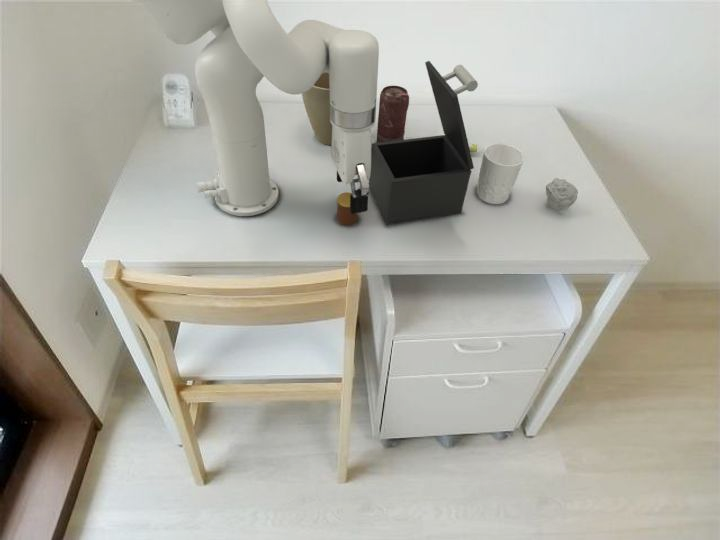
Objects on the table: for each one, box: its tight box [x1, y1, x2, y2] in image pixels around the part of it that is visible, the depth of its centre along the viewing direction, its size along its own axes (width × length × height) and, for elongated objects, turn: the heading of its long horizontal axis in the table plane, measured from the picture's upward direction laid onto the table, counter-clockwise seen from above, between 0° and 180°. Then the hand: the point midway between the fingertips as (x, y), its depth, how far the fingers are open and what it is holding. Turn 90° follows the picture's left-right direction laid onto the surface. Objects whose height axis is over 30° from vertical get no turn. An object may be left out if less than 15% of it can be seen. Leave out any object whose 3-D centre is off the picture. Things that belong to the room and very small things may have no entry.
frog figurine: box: [545, 177, 579, 212], centre depth 105 cm, size 6×7×7 cm
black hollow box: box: [368, 134, 472, 226], centre depth 103 cm, size 16×13×10 cm
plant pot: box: [301, 72, 332, 146], centre depth 116 cm, size 15×15×16 cm
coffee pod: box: [336, 191, 359, 227], centre depth 100 cm, size 4×4×5 cm
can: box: [375, 85, 410, 143], centre depth 115 cm, size 6×6×14 cm
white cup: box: [476, 142, 525, 205], centre depth 106 cm, size 8×8×10 cm
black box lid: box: [424, 60, 479, 171], centre depth 95 cm, size 17×13×6 cm
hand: (351, 195), depth 97 cm, fingers open, 9 cm apart
